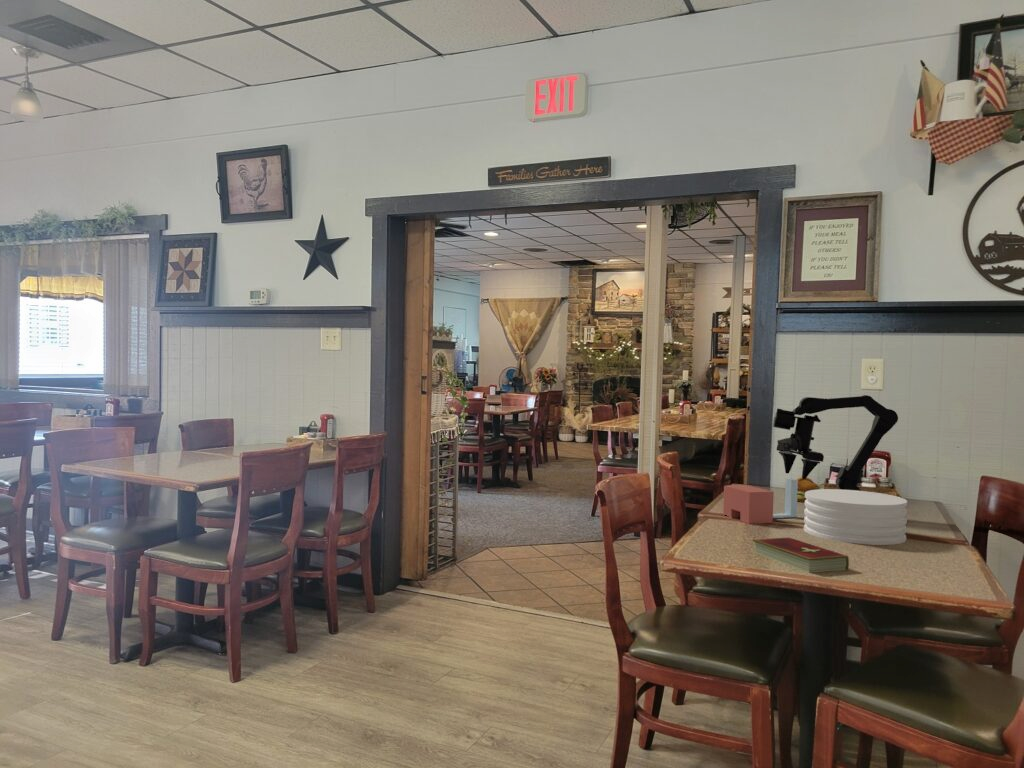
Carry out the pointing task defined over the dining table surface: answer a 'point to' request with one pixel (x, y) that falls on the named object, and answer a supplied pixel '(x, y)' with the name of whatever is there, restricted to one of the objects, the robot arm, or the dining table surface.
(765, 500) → the block
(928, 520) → the dining table surface
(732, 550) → the dining table surface
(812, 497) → the plate stack
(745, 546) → the dining table surface
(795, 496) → the light blue l-shaped piece
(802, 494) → the cheeseburger
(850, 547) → the dining table surface
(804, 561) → the hardcover book
